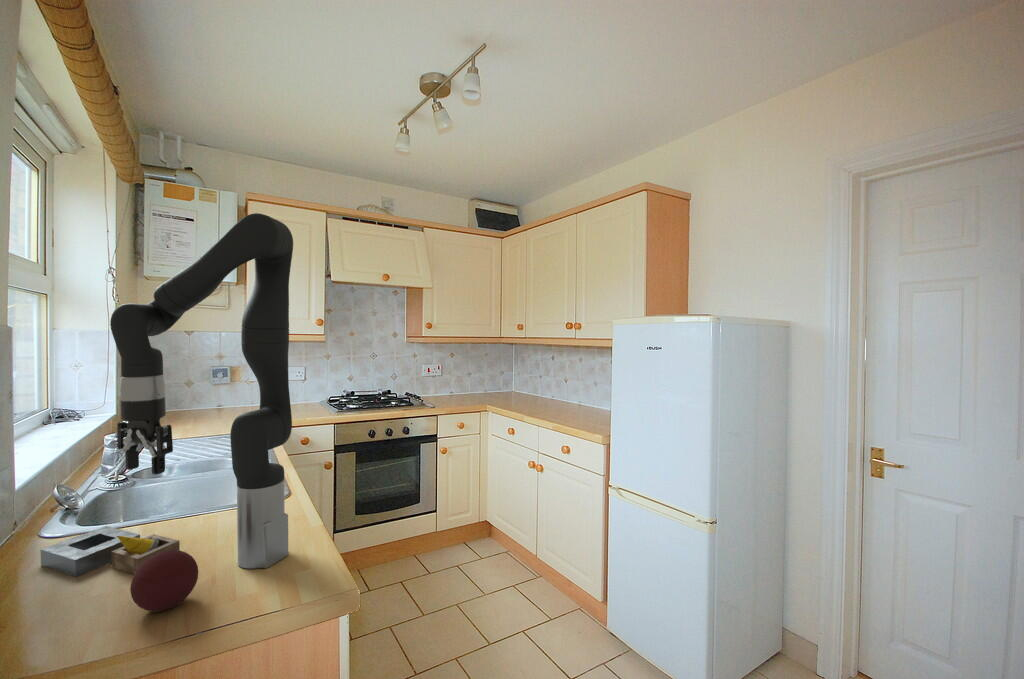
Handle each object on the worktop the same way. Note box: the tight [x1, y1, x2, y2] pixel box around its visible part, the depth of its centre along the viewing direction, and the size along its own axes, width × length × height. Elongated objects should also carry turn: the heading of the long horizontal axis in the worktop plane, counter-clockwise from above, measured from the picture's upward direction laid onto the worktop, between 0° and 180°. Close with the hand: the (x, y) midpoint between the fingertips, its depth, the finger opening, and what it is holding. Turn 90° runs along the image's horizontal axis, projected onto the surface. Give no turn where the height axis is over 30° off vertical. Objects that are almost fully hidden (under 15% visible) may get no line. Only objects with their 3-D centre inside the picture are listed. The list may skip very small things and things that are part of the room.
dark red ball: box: [129, 549, 199, 612], centre depth 84 cm, size 10×10×10 cm
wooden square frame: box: [111, 533, 181, 575], centre depth 100 cm, size 8×8×4 cm
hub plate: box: [40, 525, 141, 578], centre depth 101 cm, size 12×12×4 cm
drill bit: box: [117, 536, 159, 555], centre depth 99 cm, size 5×5×10 cm
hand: (145, 471), depth 99 cm, fingers open, 8 cm apart
